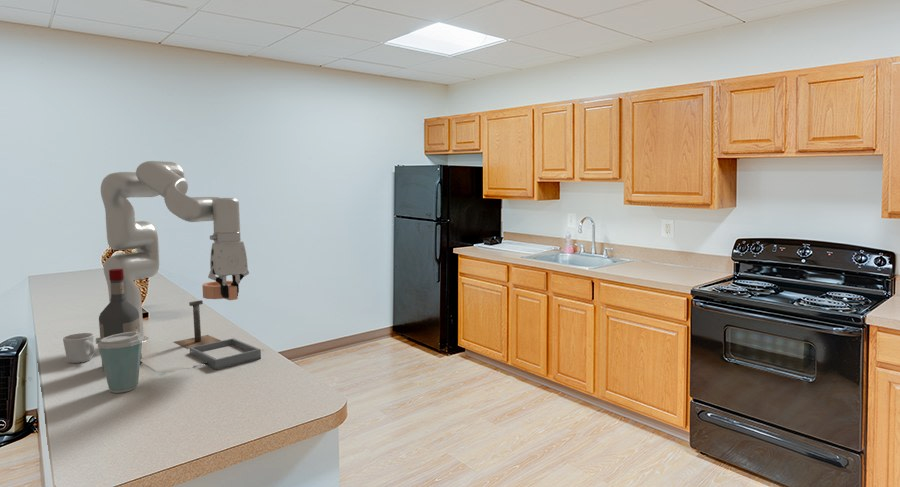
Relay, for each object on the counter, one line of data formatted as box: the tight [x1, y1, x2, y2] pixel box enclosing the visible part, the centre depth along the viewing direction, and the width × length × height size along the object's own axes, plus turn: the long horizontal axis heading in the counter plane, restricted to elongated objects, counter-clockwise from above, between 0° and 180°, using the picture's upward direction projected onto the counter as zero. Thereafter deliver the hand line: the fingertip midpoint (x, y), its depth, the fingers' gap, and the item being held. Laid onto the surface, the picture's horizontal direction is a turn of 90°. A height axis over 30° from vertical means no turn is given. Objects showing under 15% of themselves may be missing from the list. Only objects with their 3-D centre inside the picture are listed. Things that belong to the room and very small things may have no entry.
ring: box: [201, 280, 239, 301], centre depth 172 cm, size 10×14×4 cm
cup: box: [62, 332, 95, 364], centre depth 171 cm, size 11×8×8 cm
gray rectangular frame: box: [189, 338, 262, 371], centre depth 175 cm, size 15×19×3 cm
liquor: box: [98, 269, 143, 369], centre depth 165 cm, size 9×9×30 cm
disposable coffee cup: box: [97, 332, 144, 394], centre depth 148 cm, size 11×11×15 cm
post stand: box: [173, 299, 222, 350], centre depth 188 cm, size 12×12×15 cm
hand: (230, 296), depth 169 cm, fingers closed on ring, 2 cm apart
